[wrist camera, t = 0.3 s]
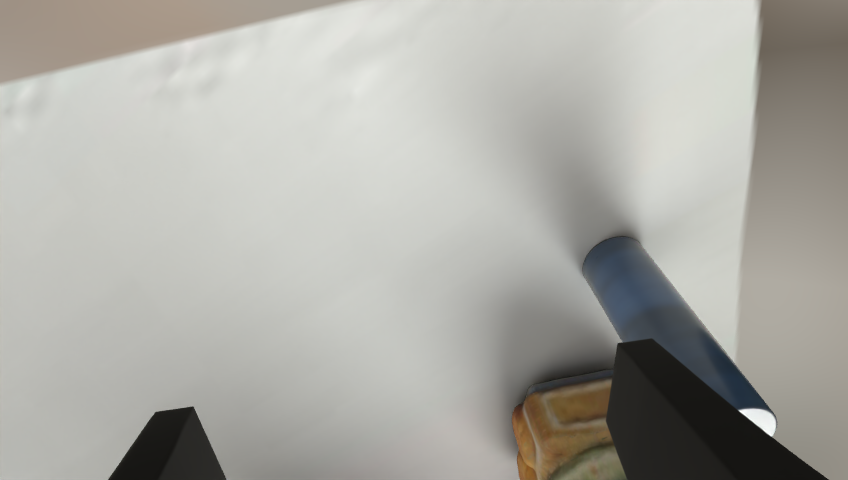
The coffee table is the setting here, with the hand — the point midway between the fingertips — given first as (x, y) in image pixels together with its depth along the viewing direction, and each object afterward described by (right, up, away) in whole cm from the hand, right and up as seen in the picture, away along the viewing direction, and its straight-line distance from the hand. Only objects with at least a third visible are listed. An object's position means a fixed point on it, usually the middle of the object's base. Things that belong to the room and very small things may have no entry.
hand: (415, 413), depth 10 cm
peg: (+7, +2, +12) cm, 14 cm away
